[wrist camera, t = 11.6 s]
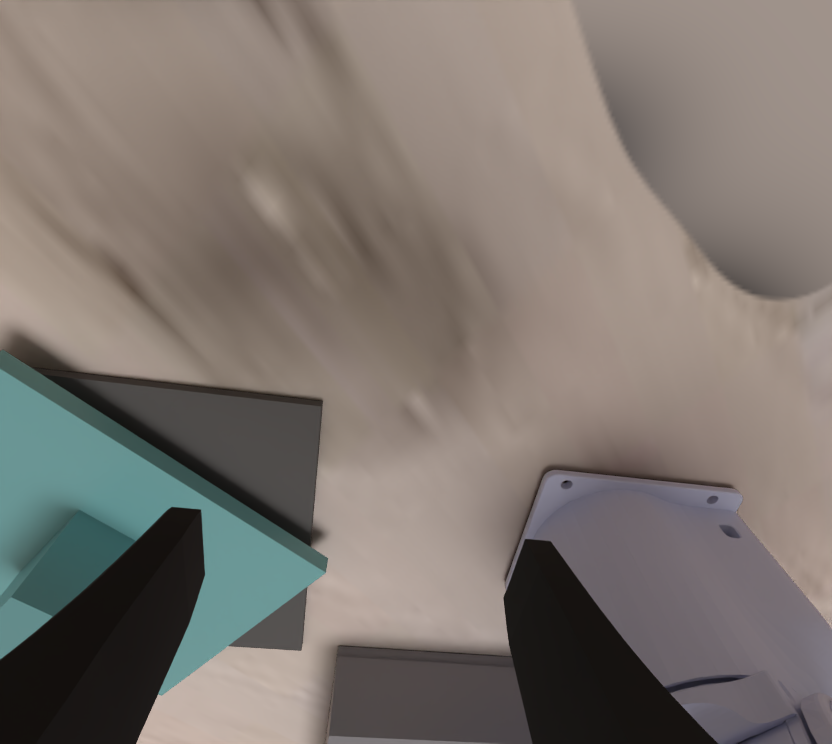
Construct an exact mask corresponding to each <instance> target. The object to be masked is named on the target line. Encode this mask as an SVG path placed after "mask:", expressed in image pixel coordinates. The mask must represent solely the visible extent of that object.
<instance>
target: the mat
mask: <svg viewBox="0 0 832 744" xmlns="http://www.w3.org/2000/svg"><path fill="white" fill-rule="evenodd" d="M32 369H34V370H35V371H37V372H39V373H40V374H42V375H43V376H45V377H46V378H48V379H49V380H51V381H53V382H54V383H56V384H57V385H59V386H60V387H62V388H63V389H65V390H67V391H68V392H70V393H71V394H73V395H74V396H76V397H77V398H79V399H81V400H82V401H84V402H85V403H87V404H88V405H90V406H91V407H93V408H95V409H96V410H98V411H99V412H101V413H102V414H104V415H105V416H107V417H109V418H110V419H112V420H113V421H115V422H116V423H118V424H120V425H121V426H123V427H124V428H126V429H127V430H129V431H130V432H132V433H134V434H135V435H137V436H138V437H140V438H141V439H143V440H144V441H146V442H148V443H149V444H151V445H152V446H154V447H155V448H157V449H158V450H160V451H162V452H163V453H165V454H166V455H168V456H169V457H171V458H172V459H174V460H176V461H177V462H179V463H180V464H182V465H183V466H185V467H187V468H188V469H190V470H191V471H193V472H194V473H196V474H197V475H199V476H201V477H202V478H204V479H205V480H207V481H208V482H210V483H211V484H213V485H215V486H216V487H218V488H219V489H221V490H222V491H224V492H225V493H227V494H229V495H230V496H232V497H233V498H235V499H236V500H238V501H239V502H241V503H243V504H244V505H246V506H247V507H249V508H250V509H252V510H253V511H255V512H257V513H258V514H260V515H261V516H263V517H264V518H266V519H268V520H269V521H271V522H272V523H274V524H275V525H277V526H278V527H280V528H282V529H283V530H285V531H286V532H288V533H289V534H291V535H292V536H294V537H296V538H297V539H299V540H300V541H302V542H303V543H305V544H306V545H308V546H310V547H311V535H312V523H313V511H314V500H315V488H316V476H317V464H318V452H319V440H320V428H321V416H322V404H323V401H316V400H308V399H299V398H290V397H282V396H273V395H264V394H256V393H247V392H239V391H230V390H221V389H213V388H204V387H195V386H187V385H178V384H169V383H161V382H152V381H144V380H135V379H126V378H118V377H109V376H100V375H92V374H83V373H74V372H66V371H57V370H49V369H40V368H32ZM306 595H307V587H306V588H305V589H303V590H302V591H301V592H299V593H298V594H297V595H295V596H294V597H293V598H291V599H290V600H289V601H287V602H286V603H285V604H283V605H282V606H281V607H279V608H278V609H277V610H275V611H274V612H273V613H271V614H270V615H269V616H267V617H266V618H265V619H263V620H262V621H261V622H259V623H258V624H257V625H255V626H254V627H253V628H251V629H250V630H249V631H247V632H246V633H245V634H243V635H242V636H241V637H239V638H238V639H237V640H235V641H234V642H233V643H231V644H230V645H229V646H234V647H250V648H266V649H282V650H298V651H301V649H302V643H303V631H304V619H305V607H306Z"/></svg>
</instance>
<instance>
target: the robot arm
mask: <svg viewBox="0 0 832 744" xmlns="http://www.w3.org/2000/svg"><path fill="white" fill-rule="evenodd" d="M566 480H569V481H568V482H567V483H562V482H564V481H566ZM742 500H743V496H742V495H741V494H740V493H739V492H738V491H737V490H736V489H732V488H723V487H714V486H704V485H695V484H685V483H676V482H667V481H657V480H648V479H639V478H629V477H620V476H610V475H601V474H592V473H582V472H573V471H563V470H551V471H549V472H547V473H546V474H545V475H544V477H543V479H542V482H541V484H540V487H539V490H538V493H537V496H536V498H535V501H534V504H533V507H532V510H531V512H530V515H529V518H528V521H527V523H526V526H525V529H524V532H523V535H522V537H521V540H520V543H519V546H518V549H517V551H516V554H515V557H514V560H513V562H512V565H511V568H510V571H509V574H508V576H507V579H506V582H505V588H506V593H505V595H504V606H505V615H506V624H507V632H508V639H509V646H510V651H511V655H512V659H513V664H514V668H515V672H516V677H517V681H518V685H519V689H520V694H521V698H522V702H523V706H524V710H525V714H526V719H527V723H528V727H529V731H530V735H531V740H532V744H832V629H831V628H830V626H829V624H828V623H827V622H826V620H825V619H824V618H823V616H822V615H821V614H820V613H819V611H818V610H817V609H816V608H815V607H814V605H813V604H812V603H811V602H810V601H809V599H808V598H807V597H806V596H805V595H804V593H803V592H802V591H801V590H800V589H799V587H798V586H797V585H796V584H795V583H794V581H793V580H792V579H791V578H790V577H789V575H788V574H787V573H786V572H785V571H784V569H783V568H782V567H781V566H780V565H779V563H778V562H777V561H776V560H775V559H774V557H773V556H772V555H771V554H770V553H769V551H768V550H767V549H766V548H765V547H764V545H763V544H762V543H761V542H760V541H759V539H758V538H757V537H756V536H755V535H754V533H753V532H752V531H751V530H750V529H749V527H748V526H747V525H746V524H745V523H744V521H743V520H742V519H741V518H740V517H739V515H738V514H737V513H736V511H737V509H738V508H739V506H740V505H741V503H742ZM204 577H205V565H204V548H203V530H202V513H201V509H191V508H180V507H171V508H169V509H168V510H167V511H166V512H165V513H164V514H163V515H162V516H161V517H160V518H159V519H158V520H157V521H156V522H155V523H154V524H153V525H152V526H151V527H150V528H149V529H148V530H147V531H146V532H145V533H144V534H143V535H142V536H141V537H140V538H139V539H138V540H137V541H136V542H135V543H134V544H132V545H131V546H130V547H129V548H128V549H127V550H126V551H125V552H124V553H123V554H122V555H121V556H120V557H119V558H118V559H117V560H116V561H115V562H114V563H113V564H112V565H110V566H109V567H108V568H107V569H106V570H105V571H104V572H103V573H102V574H101V575H100V576H98V577H97V578H96V579H95V580H94V581H93V582H92V583H91V584H90V585H89V586H88V587H87V588H85V589H84V590H83V591H82V592H81V593H80V594H79V595H78V596H76V597H75V598H74V599H73V600H72V601H71V602H69V603H68V604H67V605H66V606H65V607H64V608H62V609H61V610H60V611H59V612H58V613H57V614H55V615H54V616H53V617H52V618H51V619H49V620H48V621H47V622H46V623H45V624H44V625H42V626H41V627H40V628H39V629H38V630H37V631H35V632H34V633H33V634H32V635H30V636H29V637H28V638H27V639H25V640H24V641H23V642H22V643H20V644H19V645H18V646H17V647H15V648H14V649H13V650H12V651H10V652H9V653H8V654H7V655H5V656H4V657H3V658H1V659H0V744H136V742H137V740H138V738H139V735H140V733H141V731H142V729H143V726H144V724H145V722H146V720H147V718H148V715H149V713H150V711H151V709H152V706H153V704H154V702H155V700H156V698H157V695H158V693H159V691H160V689H161V686H162V684H163V682H164V680H165V677H166V675H167V673H168V671H169V669H170V666H171V664H172V662H173V660H174V657H175V655H176V653H177V651H178V648H179V646H180V644H181V642H182V639H183V637H184V635H185V632H186V630H187V628H188V625H189V623H190V620H191V617H192V614H193V611H194V608H195V605H196V602H197V599H198V596H199V593H200V589H201V586H202V583H203V580H204Z"/></svg>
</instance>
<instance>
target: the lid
mask: <svg viewBox="0 0 832 744" xmlns="http://www.w3.org/2000/svg"><path fill="white" fill-rule="evenodd" d="M171 507H180V508H191V509H201V513H202V530H203V548H204V565H205V577H204V580H203V583H202V586H201V589H200V593H199V596H198V599H197V602H196V605H195V608H194V611H193V614H192V617H191V620H190V623H189V625H188V628H187V630H186V632H185V635H184V637H183V639H182V642H181V644H180V646H179V648H178V651H177V653H176V655H175V657H174V660H173V662H172V664H171V666H170V669H169V671H168V673H167V675H166V677H165V680H164V682H163V684H162V686H161V689H160V691H159V693H158V694H159V695H161V696H162V695H163V694H164V693H166V692H167V691H168V690H170V689H171V688H172V687H174V686H175V685H177V684H178V683H179V682H181V681H182V680H183V679H185V678H186V677H187V676H189V675H190V674H191V673H193V672H194V671H195V670H197V669H198V668H199V667H201V666H202V665H203V664H205V663H206V662H207V661H209V660H210V659H211V658H213V657H214V656H215V655H217V654H218V653H219V652H221V651H222V650H223V649H225V648H226V647H227V646H229V645H230V644H231V643H233V642H234V641H235V640H237V639H238V638H239V637H241V636H242V635H243V634H245V633H246V632H247V631H249V630H250V629H251V628H253V627H254V626H255V625H257V624H258V623H259V622H261V621H262V620H263V619H265V618H266V617H267V616H269V615H270V614H271V613H273V612H274V611H275V610H277V609H278V608H279V607H281V606H282V605H283V604H285V603H286V602H287V601H289V600H290V599H291V598H293V597H294V596H295V595H297V594H298V593H299V592H301V591H302V590H303V589H305V588H306V587H307V586H309V585H310V584H311V583H313V582H314V581H315V580H317V579H318V578H319V577H321V576H322V575H323V574H325V573H326V568H327V561H328V558H327V557H325V556H324V555H322V554H320V553H319V552H317V551H316V550H314V549H313V548H311V547H310V546H308V545H306V544H305V543H303V542H302V541H300V540H299V539H297V538H296V537H294V536H292V535H291V534H289V533H288V532H286V531H285V530H283V529H282V528H280V527H278V526H277V525H275V524H274V523H272V522H271V521H269V520H268V519H266V518H264V517H263V516H261V515H260V514H258V513H257V512H255V511H253V510H252V509H250V508H249V507H247V506H246V505H244V504H243V503H241V502H239V501H238V500H236V499H235V498H233V497H232V496H230V495H229V494H227V493H225V492H224V491H222V490H221V489H219V488H218V487H216V486H215V485H213V484H211V483H210V482H208V481H207V480H205V479H204V478H202V477H201V476H199V475H197V474H196V473H194V472H193V471H191V470H190V469H188V468H187V467H185V466H183V465H182V464H180V463H179V462H177V461H176V460H174V459H172V458H171V457H169V456H168V455H166V454H165V453H163V452H162V451H160V450H158V449H157V448H155V447H154V446H152V445H151V444H149V443H148V442H146V441H144V440H143V439H141V438H140V437H138V436H137V435H135V434H134V433H132V432H130V431H129V430H127V429H126V428H124V427H123V426H121V425H120V424H118V423H116V422H115V421H113V420H112V419H110V418H109V417H107V416H105V415H104V414H102V413H101V412H99V411H98V410H96V409H95V408H93V407H91V406H90V405H88V404H87V403H85V402H84V401H82V400H81V399H79V398H77V397H76V396H74V395H73V394H71V393H70V392H68V391H67V390H65V389H63V388H62V387H60V386H59V385H57V384H56V383H54V382H53V381H51V380H49V379H48V378H46V377H45V376H43V375H42V374H40V373H39V372H37V371H35V370H34V369H32V368H31V367H29V366H28V365H26V364H24V363H23V362H21V361H20V360H18V359H17V358H15V357H14V356H12V355H10V354H9V353H7V352H6V351H4V350H1V351H0V659H1V658H3V657H4V656H5V655H7V654H8V653H9V652H10V651H12V650H13V649H14V648H15V647H17V646H18V645H19V644H20V643H22V642H23V641H24V640H25V639H27V638H28V637H29V636H30V635H32V634H33V633H34V632H35V631H37V630H38V629H39V628H40V627H41V626H42V625H44V624H45V623H46V622H47V621H48V620H49V619H51V618H52V617H53V616H54V615H55V614H57V613H58V612H59V611H60V610H61V609H62V608H64V607H65V606H66V605H67V604H68V603H69V602H71V601H72V600H73V599H74V598H75V597H76V596H78V595H79V594H80V593H81V592H82V591H83V590H84V589H85V588H87V587H88V586H89V585H90V584H91V583H92V582H93V581H94V580H95V579H96V578H97V577H98V576H100V575H101V574H102V573H103V572H104V571H105V570H106V569H107V568H108V567H109V566H110V565H112V564H113V563H114V562H115V561H116V560H117V559H118V558H119V557H120V556H121V555H122V554H123V553H124V552H125V551H126V550H127V549H128V548H129V547H130V546H131V545H132V544H134V543H135V542H136V541H137V540H138V539H139V538H140V537H141V536H142V535H143V534H144V533H145V532H146V531H147V530H148V529H149V528H150V527H151V526H152V525H153V524H154V523H155V522H156V521H157V520H158V519H159V518H160V517H161V516H162V515H163V514H164V513H165V512H166V511H167V510H168V509H169V508H171Z"/></svg>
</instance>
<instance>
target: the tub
mask: <svg viewBox="0 0 832 744" xmlns="http://www.w3.org/2000/svg"><path fill="white" fill-rule="evenodd" d="M325 744H532V740H531V735H530V731H529V727H528V723H527V719H526V714H525V710H524V706H523V702H522V698H521V694H520V689H519V685H518V681H517V677H516V672H515V668H514V664H513V659H512V657H502V656H487V655H471V654H455V653H440V652H424V651H409V650H393V649H377V648H362V647H346V646H338V653H337V660H336V667H335V674H334V681H333V689H332V696H331V703H330V710H329V717H328V725H327V732H326V739H325Z"/></svg>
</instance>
